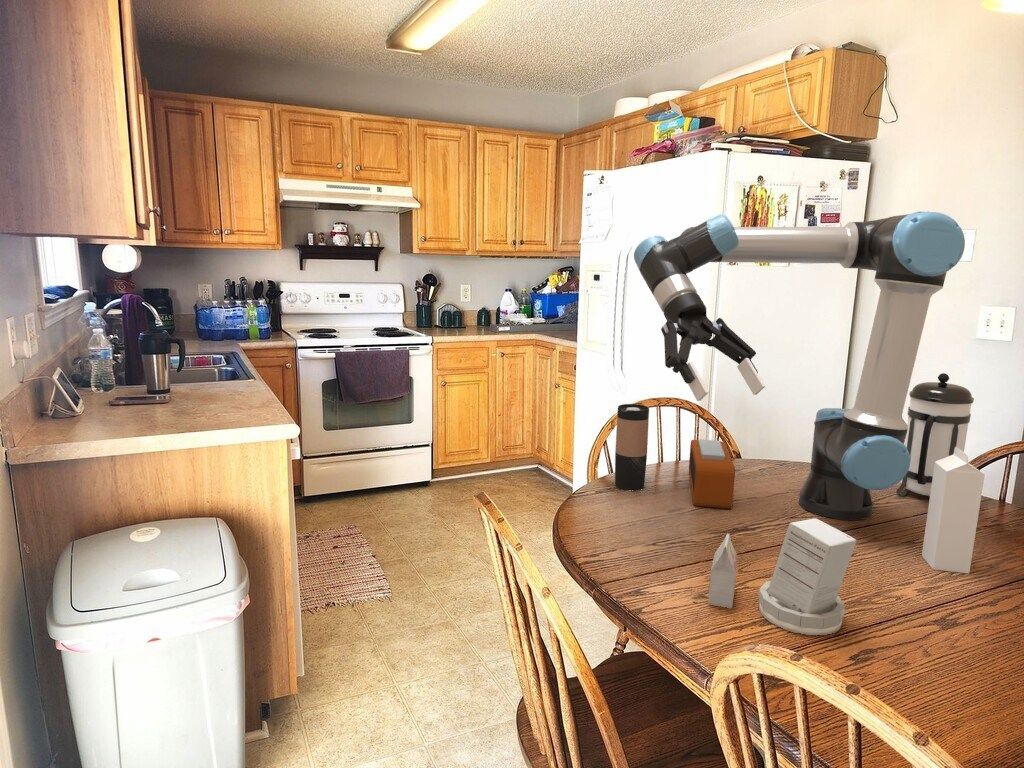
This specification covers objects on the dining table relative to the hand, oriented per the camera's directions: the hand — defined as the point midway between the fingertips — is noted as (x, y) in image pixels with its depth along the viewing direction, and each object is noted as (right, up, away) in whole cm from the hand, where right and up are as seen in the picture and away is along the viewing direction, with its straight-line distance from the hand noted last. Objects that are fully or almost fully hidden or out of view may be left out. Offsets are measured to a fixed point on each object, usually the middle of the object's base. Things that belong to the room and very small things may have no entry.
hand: (732, 393), depth 118 cm
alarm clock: (+8, -25, +42) cm, 50 cm away
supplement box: (+6, -33, -14) cm, 36 cm away
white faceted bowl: (+6, -35, -13) cm, 38 cm away
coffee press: (+61, -26, +41) cm, 78 cm away
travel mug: (-10, -24, +45) cm, 52 cm away
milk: (+41, -32, +5) cm, 52 cm away
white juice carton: (-4, -34, -8) cm, 35 cm away
